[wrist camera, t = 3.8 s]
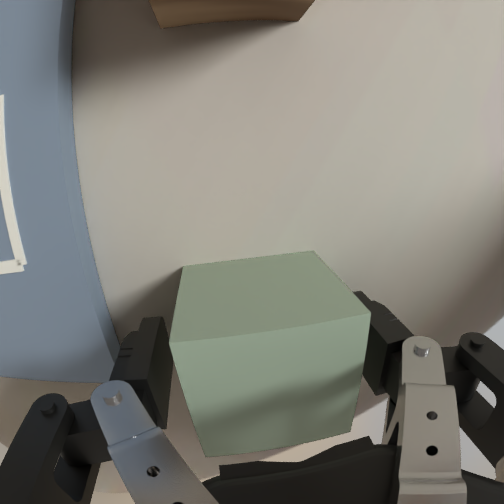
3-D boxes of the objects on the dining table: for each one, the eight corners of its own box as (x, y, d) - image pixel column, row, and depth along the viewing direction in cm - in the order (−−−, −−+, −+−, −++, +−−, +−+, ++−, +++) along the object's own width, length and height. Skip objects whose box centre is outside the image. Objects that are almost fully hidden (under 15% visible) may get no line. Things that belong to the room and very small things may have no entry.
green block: (312, 249, 12) (370, 313, 7) (311, 351, 14) (350, 431, 9) (183, 265, 12) (168, 342, 7) (203, 367, 13) (205, 457, 9)
